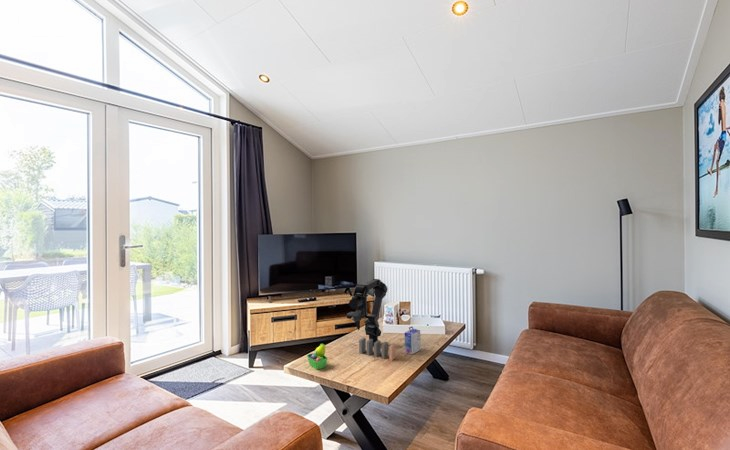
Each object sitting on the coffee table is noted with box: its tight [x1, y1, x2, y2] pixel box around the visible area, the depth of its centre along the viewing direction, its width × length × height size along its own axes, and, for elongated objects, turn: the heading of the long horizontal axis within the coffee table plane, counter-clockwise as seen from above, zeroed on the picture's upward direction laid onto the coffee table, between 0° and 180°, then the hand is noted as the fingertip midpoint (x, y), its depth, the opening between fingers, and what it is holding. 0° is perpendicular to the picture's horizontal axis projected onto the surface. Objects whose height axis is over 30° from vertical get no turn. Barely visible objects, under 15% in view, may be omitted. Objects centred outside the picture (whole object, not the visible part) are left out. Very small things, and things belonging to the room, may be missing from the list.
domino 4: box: [381, 341, 389, 360], centre depth 197 cm, size 5×2×8 cm, turn 150°
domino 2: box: [366, 339, 374, 356], centre depth 202 cm, size 5×2×8 cm, turn 150°
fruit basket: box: [306, 343, 328, 371], centre depth 186 cm, size 11×9×11 cm
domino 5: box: [388, 343, 396, 362], centre depth 194 cm, size 5×2×8 cm, turn 150°
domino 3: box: [373, 339, 381, 358], centre depth 199 cm, size 5×2×8 cm, turn 150°
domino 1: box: [358, 337, 367, 355], centre depth 204 cm, size 5×2×8 cm, turn 150°
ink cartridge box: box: [404, 326, 422, 355], centre depth 205 cm, size 10×6×14 cm, turn 137°
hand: (362, 330), depth 204 cm, fingers open, 4 cm apart
